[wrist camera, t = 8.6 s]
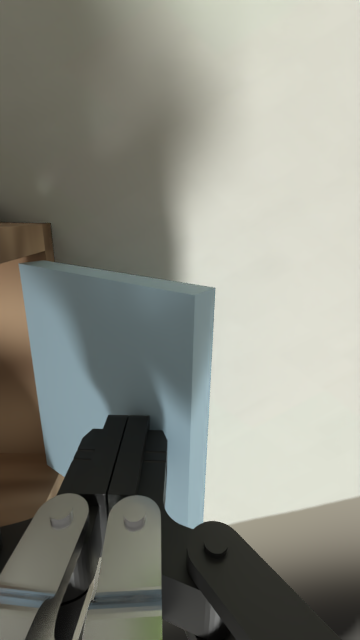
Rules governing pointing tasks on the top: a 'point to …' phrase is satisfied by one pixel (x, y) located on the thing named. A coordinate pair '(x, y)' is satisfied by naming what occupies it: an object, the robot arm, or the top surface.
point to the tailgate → (123, 365)
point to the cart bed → (21, 382)
